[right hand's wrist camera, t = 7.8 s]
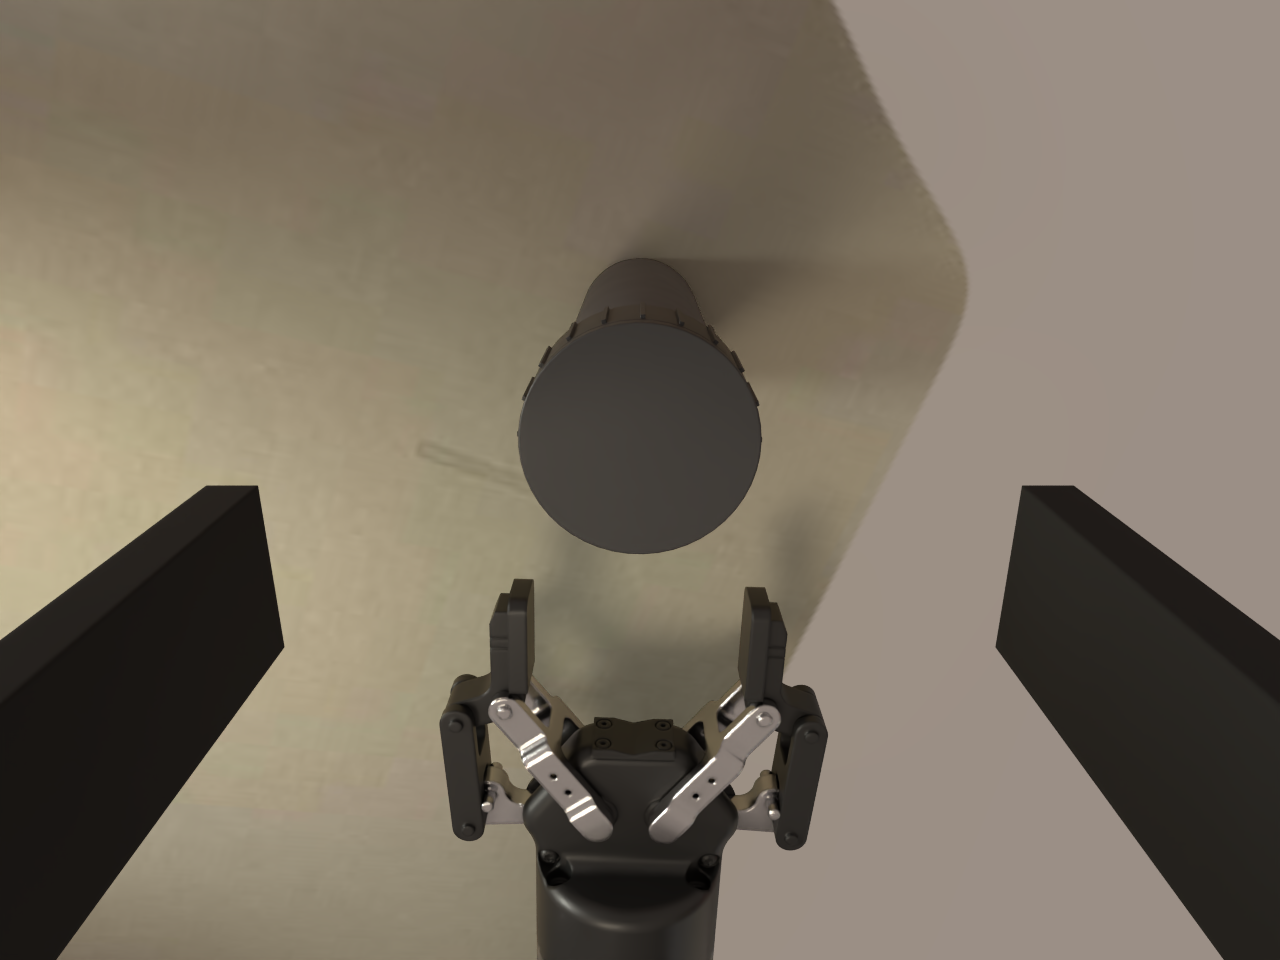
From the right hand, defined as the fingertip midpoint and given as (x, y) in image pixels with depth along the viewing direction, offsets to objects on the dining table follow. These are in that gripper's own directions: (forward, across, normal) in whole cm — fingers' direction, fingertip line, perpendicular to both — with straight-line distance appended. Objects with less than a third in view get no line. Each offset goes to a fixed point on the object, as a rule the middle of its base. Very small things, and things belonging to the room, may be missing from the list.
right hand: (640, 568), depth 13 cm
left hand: (+16, 0, +9) cm, 18 cm away
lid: (+6, 0, 0) cm, 6 cm away
